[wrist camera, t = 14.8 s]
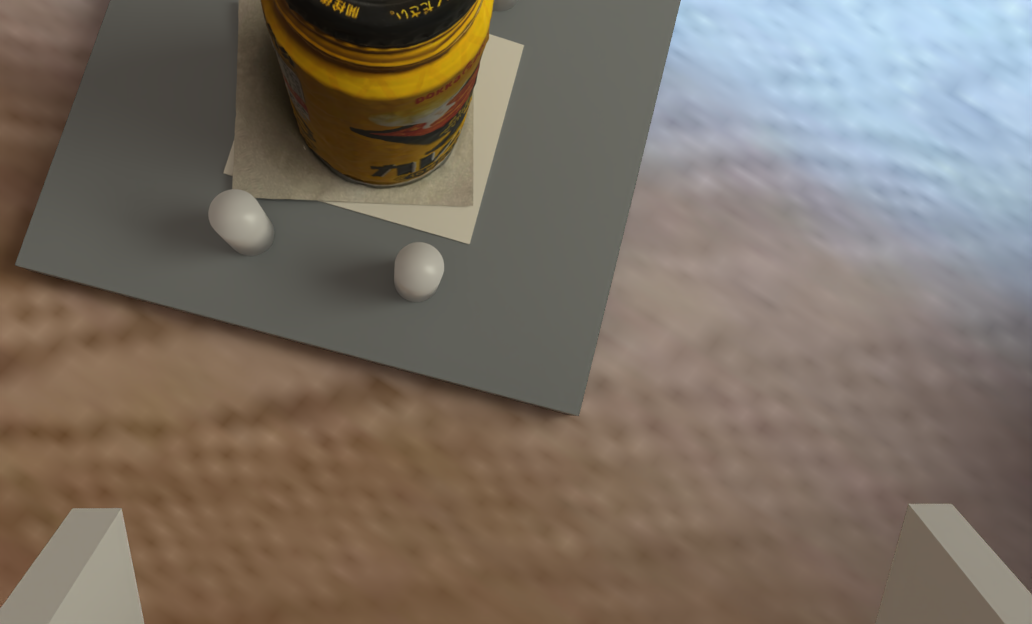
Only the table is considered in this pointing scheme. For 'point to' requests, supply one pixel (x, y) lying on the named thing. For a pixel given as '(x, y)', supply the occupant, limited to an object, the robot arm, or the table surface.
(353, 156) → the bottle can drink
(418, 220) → the pin tray
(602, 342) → the table surface
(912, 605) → the robot arm
